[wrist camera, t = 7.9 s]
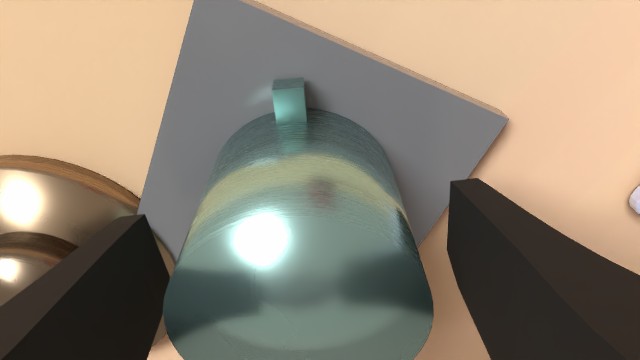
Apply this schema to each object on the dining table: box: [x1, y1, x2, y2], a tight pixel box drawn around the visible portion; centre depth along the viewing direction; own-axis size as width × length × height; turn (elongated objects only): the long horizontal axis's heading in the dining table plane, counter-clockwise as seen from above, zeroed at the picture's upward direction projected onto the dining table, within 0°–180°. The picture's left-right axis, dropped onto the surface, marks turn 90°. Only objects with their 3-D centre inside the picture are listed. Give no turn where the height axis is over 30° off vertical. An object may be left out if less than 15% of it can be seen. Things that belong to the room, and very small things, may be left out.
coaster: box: [137, 0, 509, 265], centre depth 12 cm, size 8×8×1 cm
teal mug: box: [163, 77, 433, 360], centre depth 10 cm, size 7×5×4 cm
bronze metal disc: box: [0, 155, 175, 346], centre depth 13 cm, size 8×8×2 cm
